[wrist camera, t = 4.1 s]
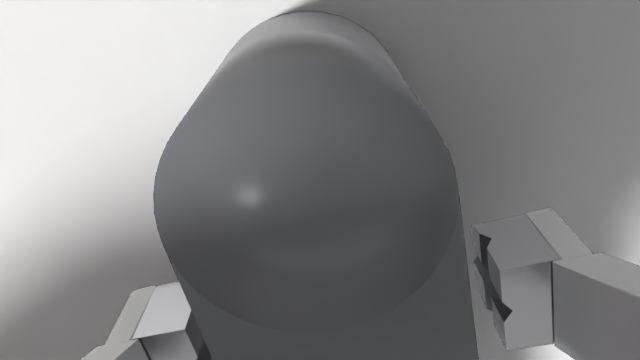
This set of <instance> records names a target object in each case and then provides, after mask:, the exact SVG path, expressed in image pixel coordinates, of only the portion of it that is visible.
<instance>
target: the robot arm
mask: <svg viewBox="0 0 640 360" xmlns="http://www.w3.org/2000/svg"><path fill="white" fill-rule="evenodd" d="M471 237H472V244H473V246H474V248H475V250H476V252H477V254H478V257H477V258H476V260H475V261H474V264H475V272H476V278H477V282H478V286H479V290H480V293H481V296H482V299H483V301H484V303H485V306H486V308H487V309H489V310H491V311H493V317H494V325H495V327H496V329H497V331H498V334H499V336H500V338H501V340H502V342H503V344H504V346H505V348H506V350H514V349H521V348H527V347H534V346H541V345H548V344H555V346H556V347H557V348H559V349H560V350H562V351H563V352H564V353H566V354H567V355H569V356H570V357H572V358H573V359H575V360H640V266H638V265H635V264H632V263H630V262H627V261H624V260H621V259H618V258H615V257H613V256H610V255H607V254H604V253H601V252H600V253H595V254H592V253H591V251H590V250H589V249H588V248H587V247H586V246H585V245H584V244H583V242H582V241H581V240H580V239H579V238H578V237H577V236H576V235H575V233H574V232H573V231H572V230H571V229H570V228H569V227H568V226H567V224H566V223H565V222H564V221H563V220H562V219H561V218H560V217H559V215H558V214H557V213H556V212H555V211H554V210H553V209H550V208H546V209H542V210H537V211H533V212H529V213H524V214H522V215H517V216H512V217H508V218H503V219H499V220H494V221H489V222H485V223H480V224H475V225H471ZM81 360H213V359H212V357H211V354H210V352H209V350H208V347H207V345H206V343H205V340H204V338H203V336H202V334H201V331H200V329H199V327H198V324H197V322H196V320H195V317H194V315H193V313H192V310H191V308H190V306H189V304H188V301H187V299H186V297H185V294H184V292H183V290H182V287H181V285H180V283H179V281H178V282H172V283H166V284H161V285H155V286H150V287H145V288H140V289H136V290H134V291H133V292H131V294H130V296H129V298H128V300H127V302H126V304H125V306H124V308H123V310H122V312H121V314H120V316H119V318H118V320H117V321H116V323H115V325H114V327H113V329H112V331H111V333H110V335H109V337H108V339H107V341H106V343H105V345H103V346H98V347H96V348H95V349H93V350H92V351H91V352H90V353H88V354H87V355H86V356H85V357H83V358H82V359H81Z"/></svg>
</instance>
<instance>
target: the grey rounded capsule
mask: <svg viewBox="0 0 640 360" xmlns="http://www.w3.org/2000/svg"><path fill="white" fill-rule="evenodd" d="M153 196H154V214H155V219H156V224H157V229H158V232H159V235H160V238H161V240H162V243H163V246H164V248H165V251H166V253H167V255H168V258H169V260H170V262H171V264H172V267H173V269H174V271H175V274H176V276H177V278H178V281H179V283H180V285H181V287H182V290H183V292H184V294H185V297H186V299H187V301H188V304H189V306H190V308H191V310H192V313H193V315H194V317H195V320H196V322H197V324H198V327H199V329H200V331H201V334H202V336H203V338H204V340H205V343H206V345H207V347H208V350H209V352H210V354H211V357H212V359H213V360H478V352H477V343H476V335H475V326H474V318H473V310H472V301H471V293H470V284H469V276H468V267H467V259H466V250H465V242H464V234H463V225H462V217H461V208H460V200H459V191H458V184H457V179H456V174H455V169H454V166H453V163H452V160H451V157H450V155H449V152H448V150H447V148H446V146H445V144H444V142H443V140H442V139H441V137H440V135H439V133H438V132H437V130H436V128H435V127H434V125H433V124H432V122H431V120H430V119H429V117H428V116H427V114H426V112H425V111H424V109H423V108H422V106H421V105H420V103H419V101H418V100H417V98H416V97H415V95H414V93H413V92H412V90H411V89H410V87H409V85H408V84H407V82H406V81H405V79H404V77H403V76H402V74H401V73H400V71H399V70H398V68H397V66H396V65H395V63H394V62H393V60H392V58H391V57H390V55H389V54H388V52H387V51H386V50H385V48H384V47H383V46H382V44H381V43H380V42H379V41H378V40H377V39H376V38H375V37H374V36H373V35H372V34H370V33H369V32H368V31H366V30H365V29H364V28H362V27H361V26H359V25H357V24H355V23H354V22H352V21H350V20H348V19H345V18H343V17H340V16H337V15H333V14H329V13H324V12H315V11H301V12H293V13H287V14H283V15H280V16H277V17H274V18H271V19H269V20H267V21H265V22H263V23H261V24H259V25H258V26H256V27H255V28H253V29H252V30H250V31H249V32H248V33H247V34H245V35H244V36H243V37H242V38H241V39H240V40H239V41H238V42H237V43H236V45H235V46H234V47H233V48H232V49H231V51H230V52H229V54H228V55H227V56H226V58H225V59H224V61H223V62H222V64H221V65H220V66H219V68H218V69H217V71H216V72H215V74H214V75H213V76H212V78H211V79H210V81H209V82H208V84H207V85H206V86H205V88H204V89H203V91H202V92H201V94H200V95H199V96H198V98H197V99H196V101H195V102H194V104H193V105H192V106H191V108H190V109H189V111H188V112H187V114H186V115H185V116H184V118H183V119H182V121H181V122H180V124H179V125H178V127H177V128H176V130H175V131H174V133H173V134H172V136H171V137H170V139H169V141H168V142H167V145H166V147H165V149H164V151H163V154H162V156H161V158H160V161H159V165H158V169H157V173H156V176H155V185H154V194H153Z"/></svg>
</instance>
